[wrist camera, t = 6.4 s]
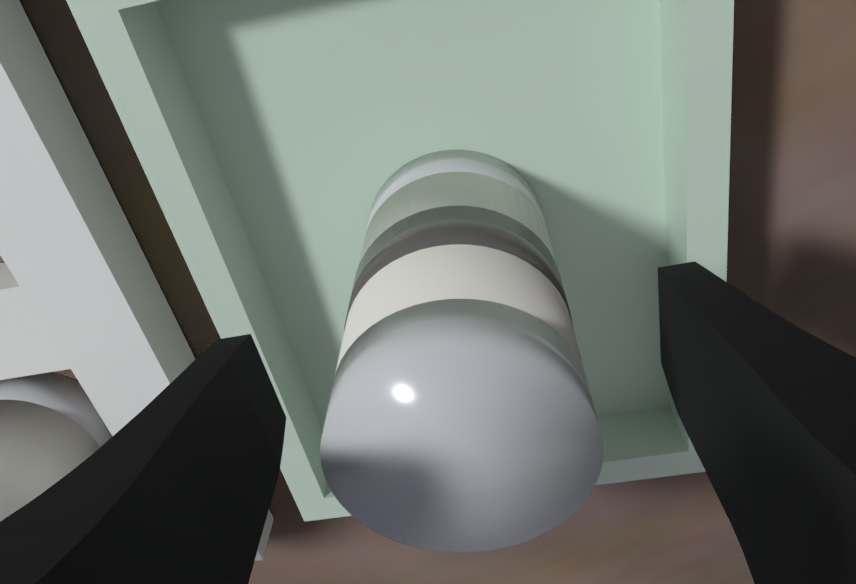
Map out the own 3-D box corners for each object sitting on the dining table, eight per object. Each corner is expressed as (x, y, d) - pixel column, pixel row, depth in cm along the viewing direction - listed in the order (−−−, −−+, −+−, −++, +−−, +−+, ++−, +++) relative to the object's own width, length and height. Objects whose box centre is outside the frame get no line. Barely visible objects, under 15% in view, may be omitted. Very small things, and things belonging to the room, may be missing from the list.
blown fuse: (553, 292, 16) (614, 537, 11) (389, 318, 17) (359, 566, 11) (532, 132, 14) (593, 326, 8) (346, 167, 15) (279, 374, 9)
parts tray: (697, 415, 19) (721, 469, 17) (316, 466, 20) (304, 521, 19) (696, -191, 12) (739, -198, 10) (103, -45, 13) (51, -31, 11)
